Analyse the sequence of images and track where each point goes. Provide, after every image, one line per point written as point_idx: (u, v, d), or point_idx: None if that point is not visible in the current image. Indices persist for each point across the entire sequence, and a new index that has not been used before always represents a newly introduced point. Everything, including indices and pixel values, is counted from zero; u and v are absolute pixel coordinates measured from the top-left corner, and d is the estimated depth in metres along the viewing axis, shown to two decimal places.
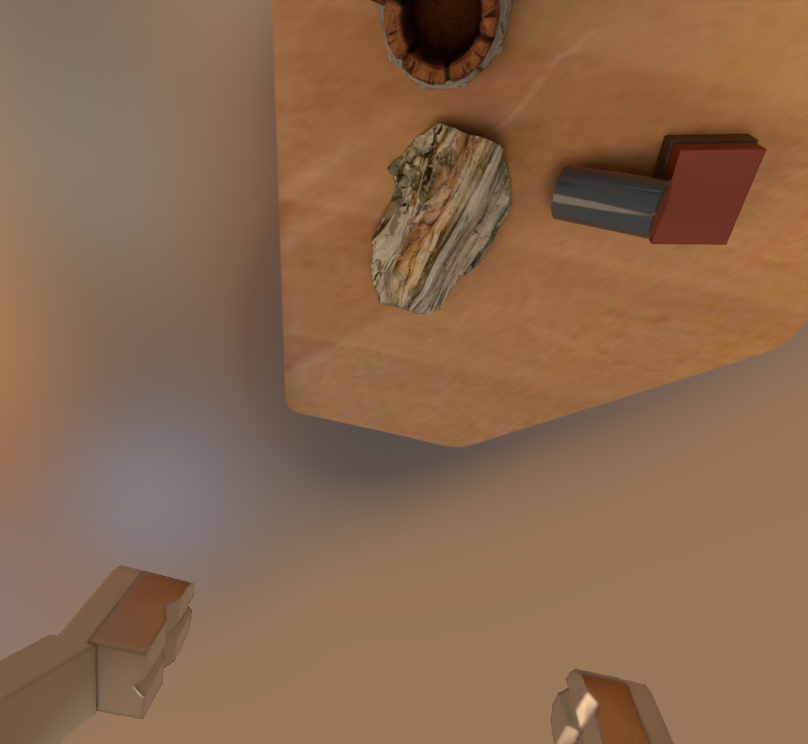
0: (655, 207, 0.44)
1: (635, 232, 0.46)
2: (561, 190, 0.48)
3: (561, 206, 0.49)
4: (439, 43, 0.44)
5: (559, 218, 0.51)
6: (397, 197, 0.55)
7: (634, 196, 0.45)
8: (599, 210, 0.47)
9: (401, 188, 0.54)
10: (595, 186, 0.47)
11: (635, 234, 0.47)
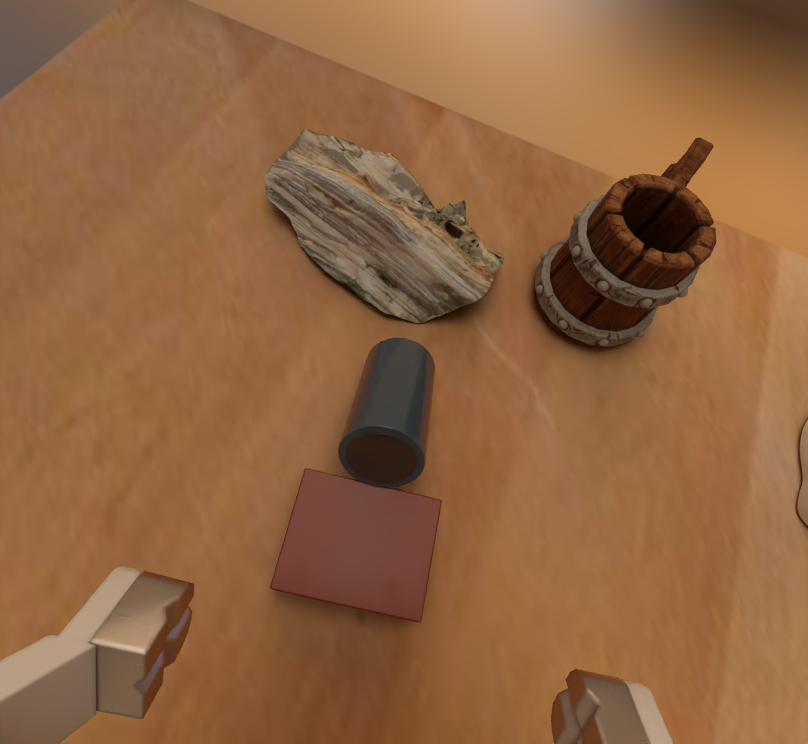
0: (405, 435, 0.28)
1: (361, 415, 0.29)
2: (420, 350, 0.36)
3: (400, 345, 0.35)
4: None
5: (377, 347, 0.36)
6: None
7: (417, 415, 0.30)
8: (398, 377, 0.32)
9: (436, 210, 0.46)
10: (425, 383, 0.33)
11: (356, 417, 0.30)
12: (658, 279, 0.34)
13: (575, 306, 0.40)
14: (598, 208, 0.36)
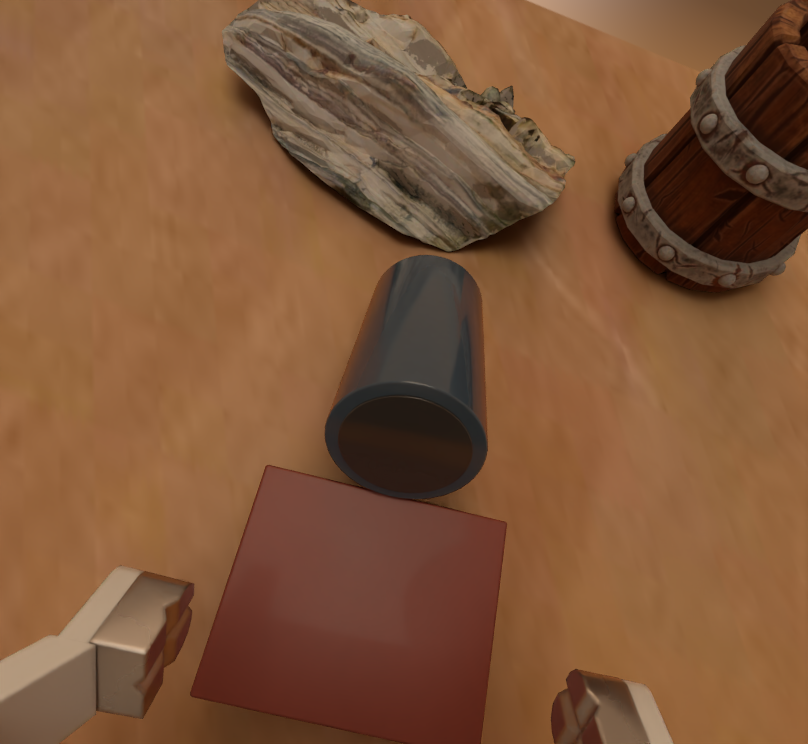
0: (454, 400, 0.15)
1: (369, 365, 0.16)
2: (462, 273, 0.22)
3: (430, 264, 0.21)
4: None
5: (392, 270, 0.22)
6: None
7: (470, 369, 0.16)
8: (432, 306, 0.18)
9: None
10: (475, 321, 0.20)
11: (359, 369, 0.16)
12: None
13: (690, 222, 0.26)
14: (751, 47, 0.22)
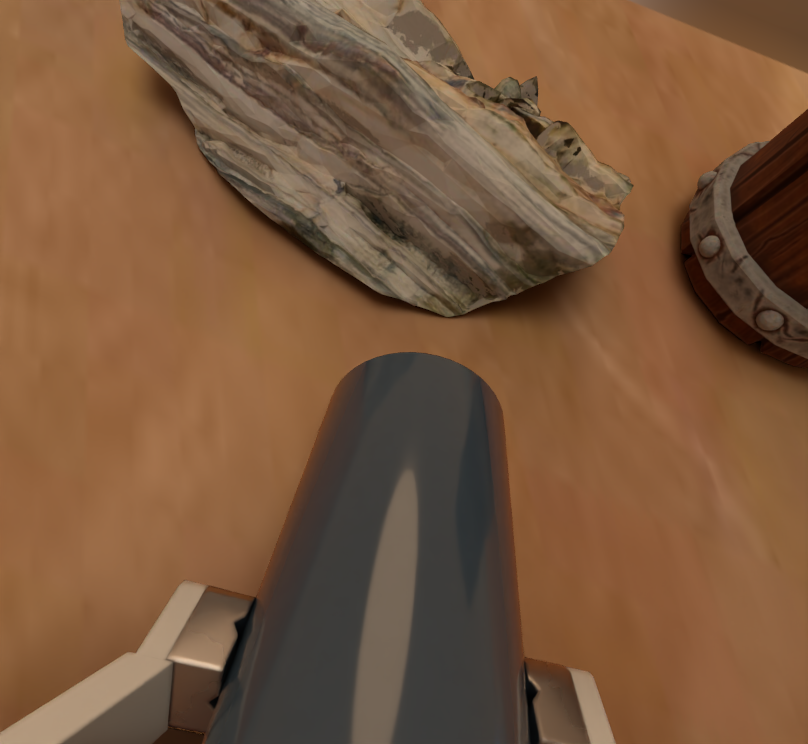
0: None
1: (265, 708, 0.07)
2: (473, 386, 0.13)
3: (418, 375, 0.12)
4: None
5: (356, 379, 0.13)
6: None
7: (499, 678, 0.07)
8: (419, 495, 0.09)
9: None
10: (499, 497, 0.11)
11: (246, 709, 0.07)
12: None
13: None
14: None
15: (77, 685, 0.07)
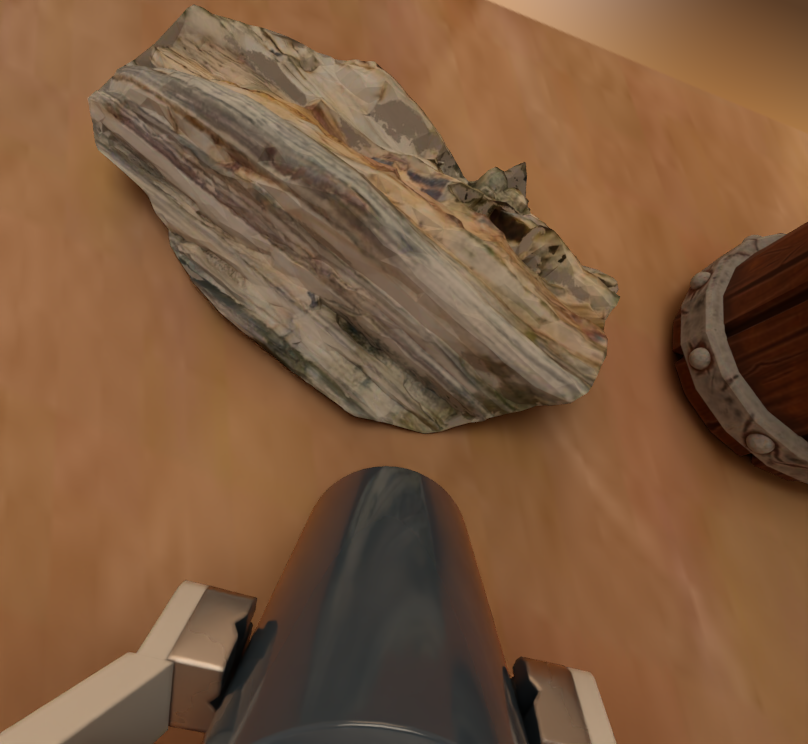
0: None
1: (278, 672, 0.07)
2: (438, 491, 0.15)
3: (392, 477, 0.15)
4: None
5: (336, 488, 0.15)
6: None
7: (491, 665, 0.08)
8: (404, 538, 0.11)
9: (467, 182, 0.23)
10: (471, 563, 0.12)
11: (255, 684, 0.07)
12: None
13: (806, 411, 0.17)
14: None
15: (78, 685, 0.07)
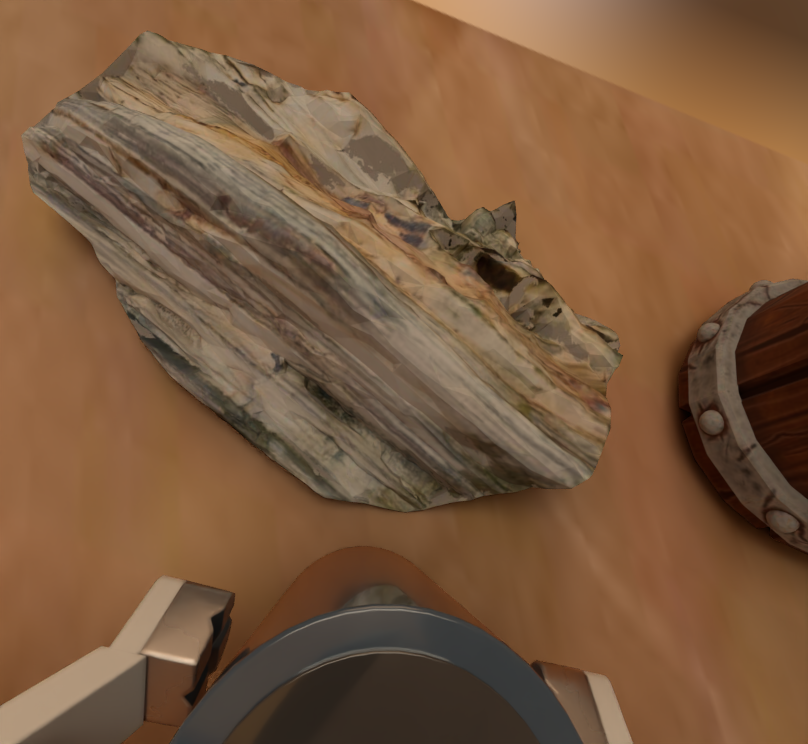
0: (503, 654, 0.06)
1: (286, 616, 0.07)
2: None
3: (368, 548, 0.14)
4: None
5: (309, 567, 0.14)
6: None
7: None
8: (391, 564, 0.11)
9: None
10: None
11: (261, 633, 0.07)
12: None
13: None
14: None
15: (48, 679, 0.07)
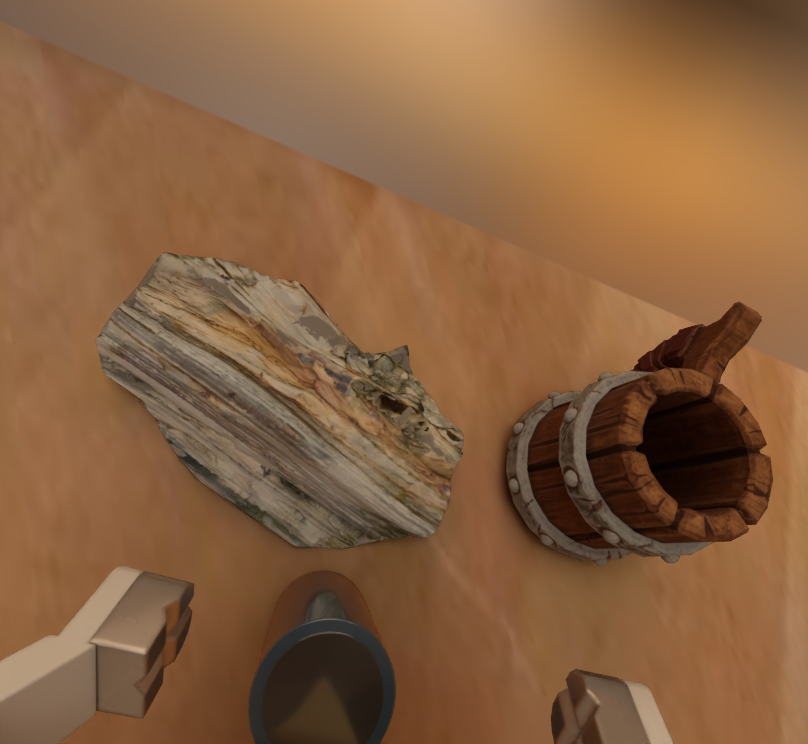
0: (362, 630, 0.19)
1: (289, 622, 0.19)
2: (347, 580, 0.28)
3: (322, 574, 0.27)
4: None
5: (290, 586, 0.27)
6: None
7: (369, 621, 0.21)
8: (331, 589, 0.23)
9: (368, 359, 0.33)
10: (365, 605, 0.24)
11: (281, 629, 0.19)
12: None
13: (565, 525, 0.29)
14: (605, 426, 0.24)
15: None
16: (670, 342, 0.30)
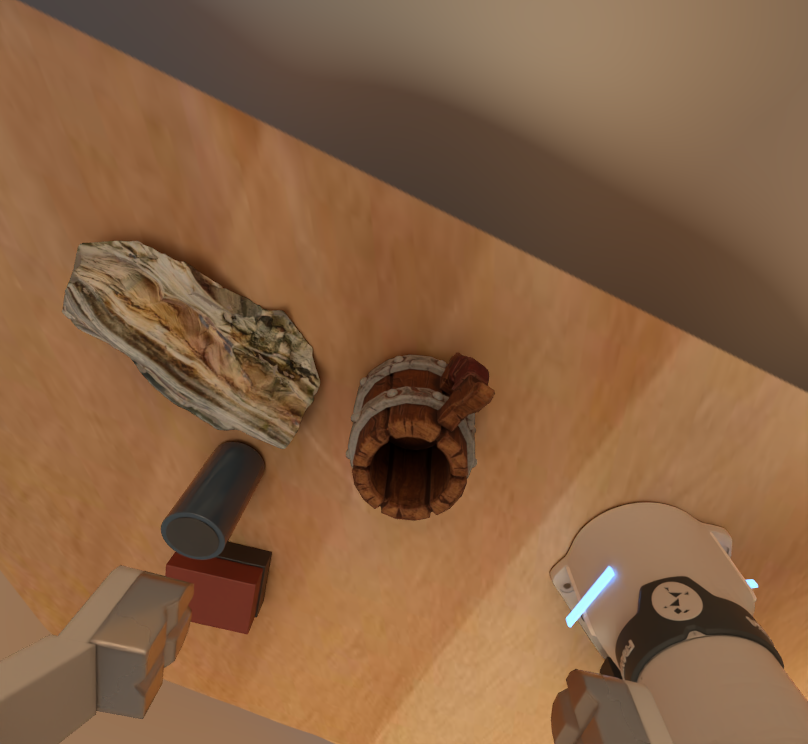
0: (206, 519, 0.39)
1: (178, 504, 0.40)
2: (248, 451, 0.47)
3: (231, 448, 0.47)
4: None
5: (216, 449, 0.47)
6: (244, 310, 0.41)
7: (223, 504, 0.41)
8: (218, 474, 0.43)
9: (255, 316, 0.42)
10: (243, 477, 0.44)
11: (175, 506, 0.40)
12: None
13: None
14: (356, 445, 0.35)
15: None
16: (464, 365, 0.35)
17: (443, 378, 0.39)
